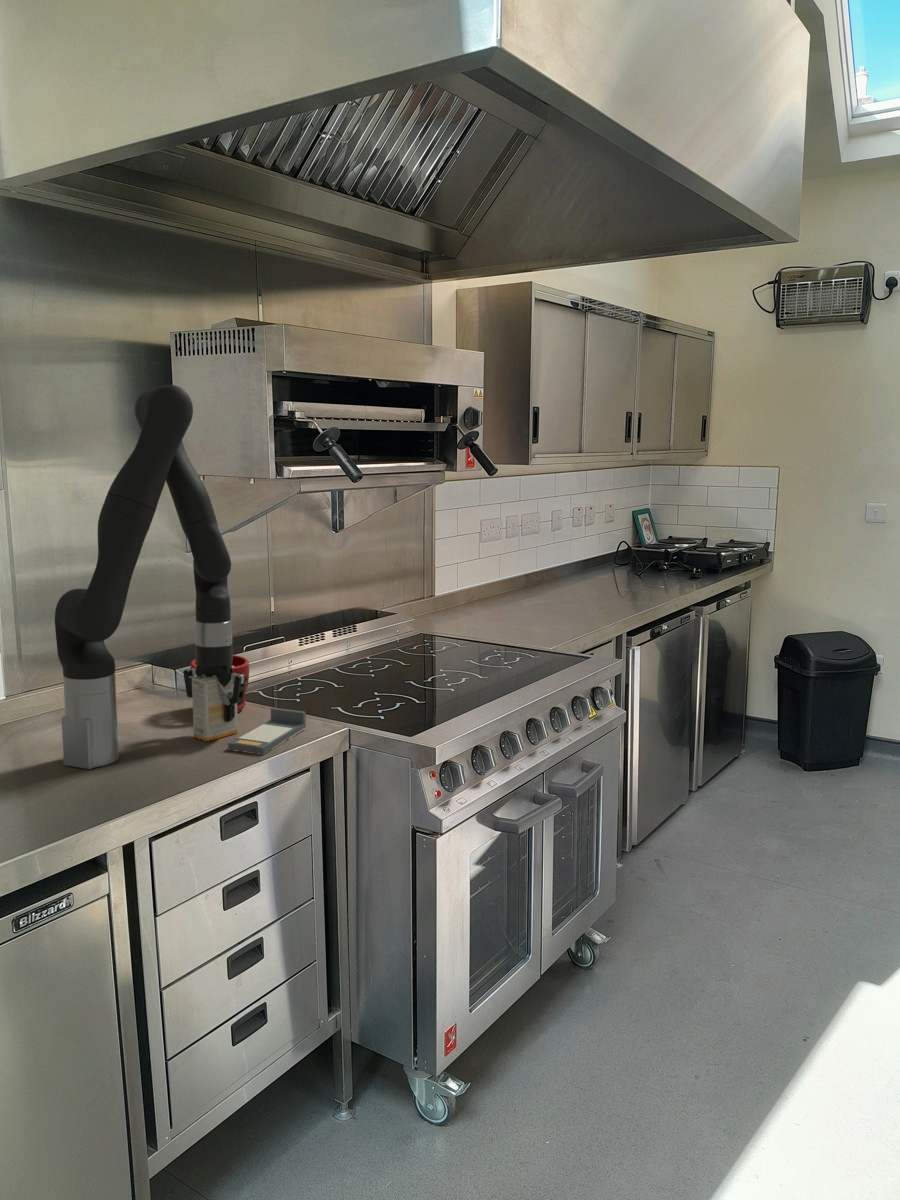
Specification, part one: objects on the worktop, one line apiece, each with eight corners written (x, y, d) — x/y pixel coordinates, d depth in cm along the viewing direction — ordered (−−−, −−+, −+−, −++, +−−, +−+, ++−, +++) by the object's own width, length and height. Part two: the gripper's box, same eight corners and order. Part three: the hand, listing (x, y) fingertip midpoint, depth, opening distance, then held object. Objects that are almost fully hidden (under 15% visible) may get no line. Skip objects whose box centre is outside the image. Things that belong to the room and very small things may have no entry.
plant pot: (179, 712, 206) (178, 661, 204) (223, 699, 217) (222, 651, 215) (218, 722, 199) (217, 670, 197) (261, 709, 209) (261, 659, 207)
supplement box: (224, 728, 195) (223, 670, 192) (238, 733, 192) (237, 673, 189) (192, 737, 188) (190, 676, 186) (206, 742, 185) (204, 681, 183)
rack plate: (263, 755, 179) (263, 735, 178) (228, 750, 181) (227, 731, 180) (305, 729, 195) (305, 711, 195) (273, 725, 198) (273, 707, 197)
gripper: (173, 641, 185) (175, 720, 188) (234, 648, 181) (235, 728, 184) (194, 635, 192) (196, 710, 195) (253, 641, 188) (254, 718, 191)
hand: (215, 719), depth 189 cm, fingers closed on supplement box, 6 cm apart
